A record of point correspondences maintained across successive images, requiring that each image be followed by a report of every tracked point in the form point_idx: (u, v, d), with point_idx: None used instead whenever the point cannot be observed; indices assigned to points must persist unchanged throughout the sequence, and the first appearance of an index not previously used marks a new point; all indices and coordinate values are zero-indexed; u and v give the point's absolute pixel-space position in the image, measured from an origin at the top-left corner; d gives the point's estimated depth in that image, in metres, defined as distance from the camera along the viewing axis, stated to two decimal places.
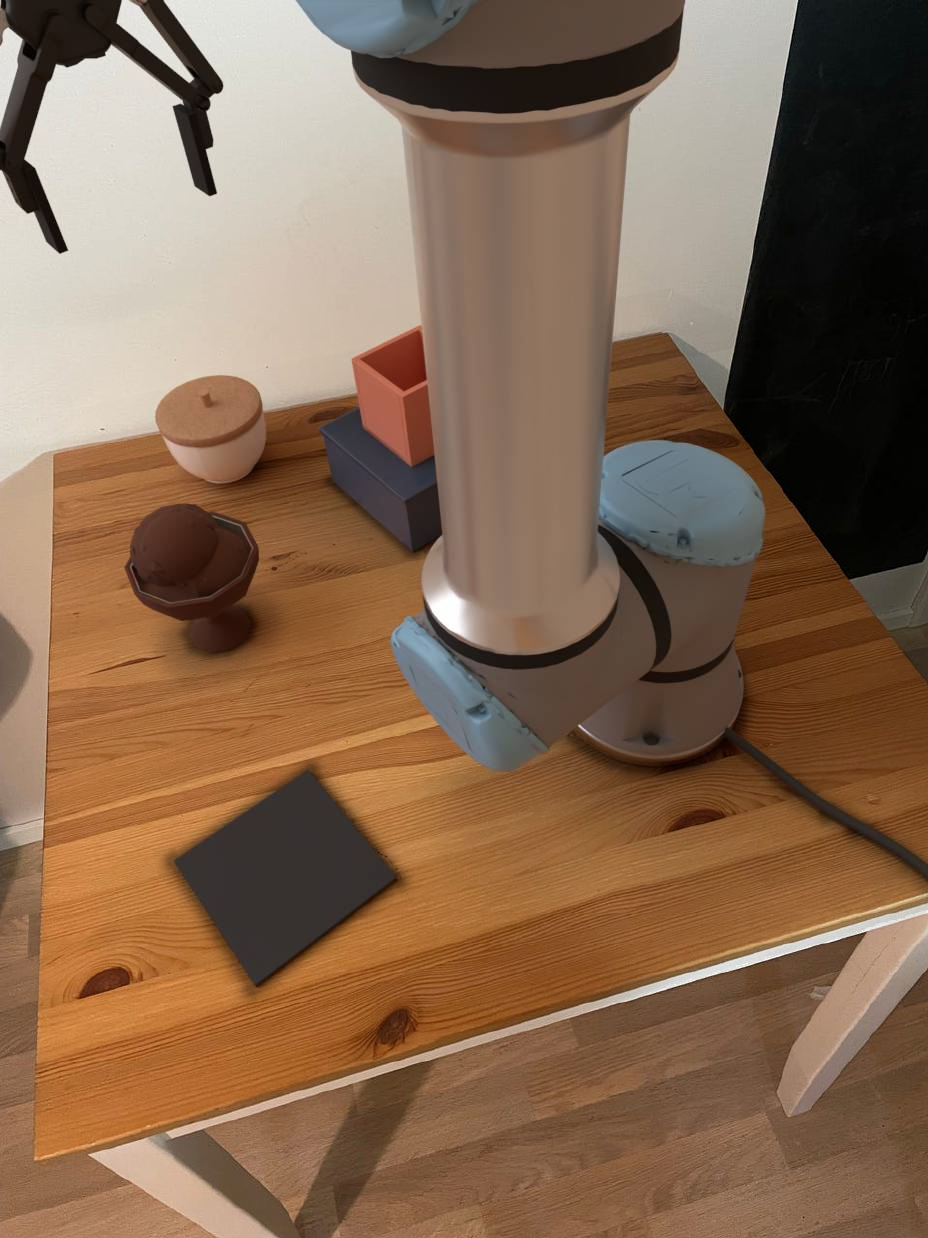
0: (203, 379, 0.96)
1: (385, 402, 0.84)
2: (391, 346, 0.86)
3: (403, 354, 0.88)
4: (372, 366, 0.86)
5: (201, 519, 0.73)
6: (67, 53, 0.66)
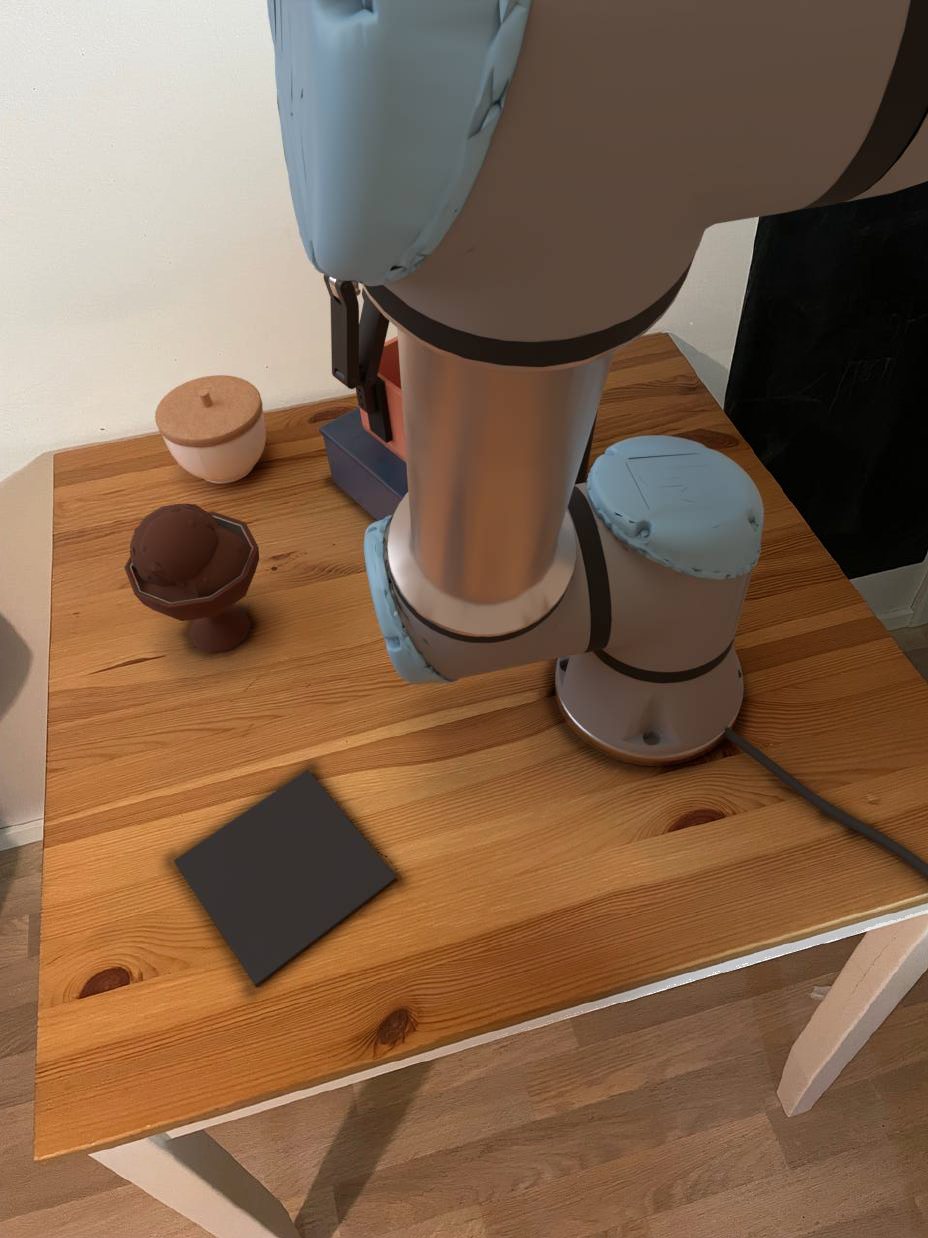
0: (203, 379, 0.96)
1: None
2: (391, 346, 0.86)
3: None
4: None
5: (201, 519, 0.73)
6: None
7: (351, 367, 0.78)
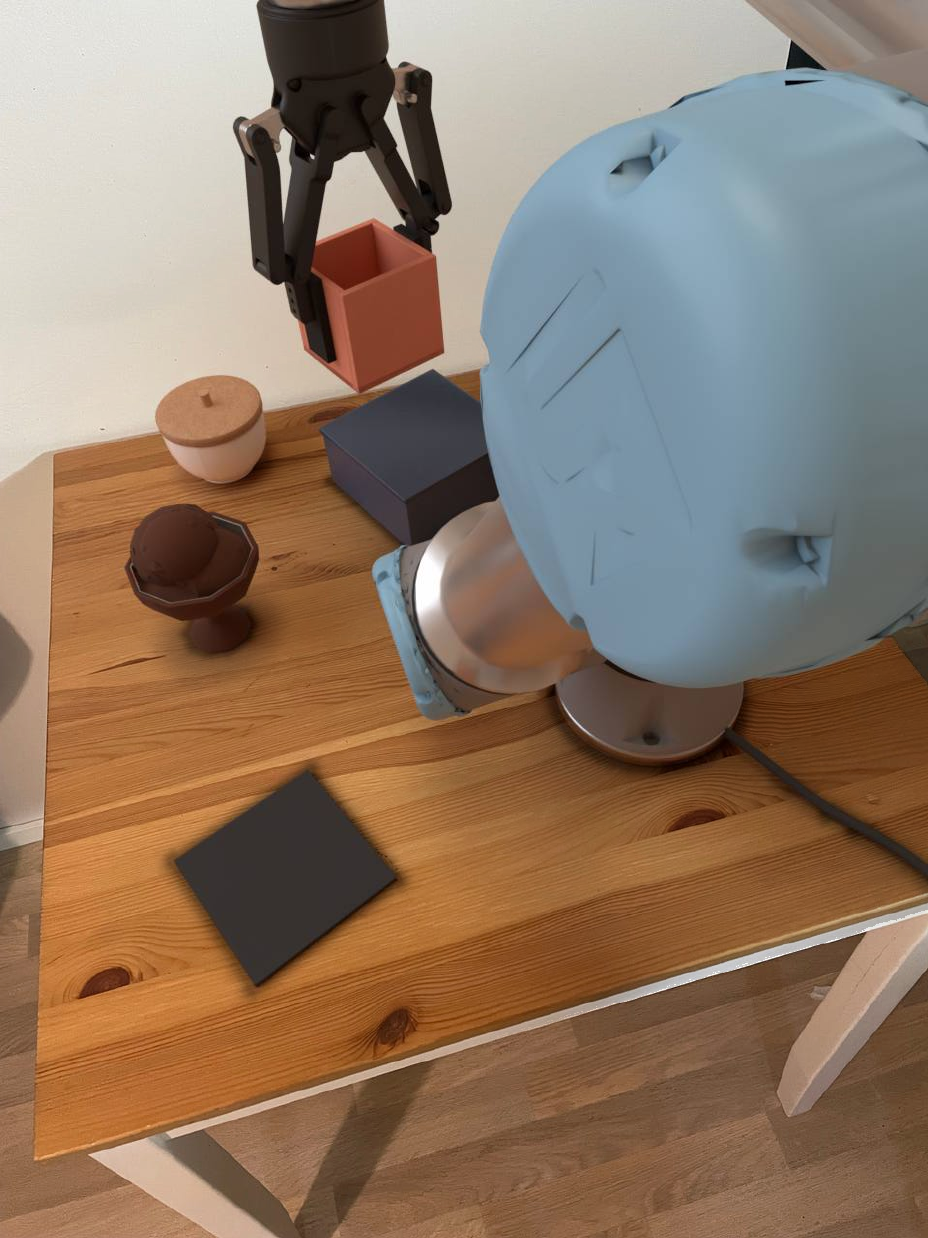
0: (203, 379, 0.96)
1: None
2: (336, 241, 0.69)
3: (352, 254, 0.70)
4: None
5: (201, 519, 0.73)
6: None
7: (274, 254, 0.61)
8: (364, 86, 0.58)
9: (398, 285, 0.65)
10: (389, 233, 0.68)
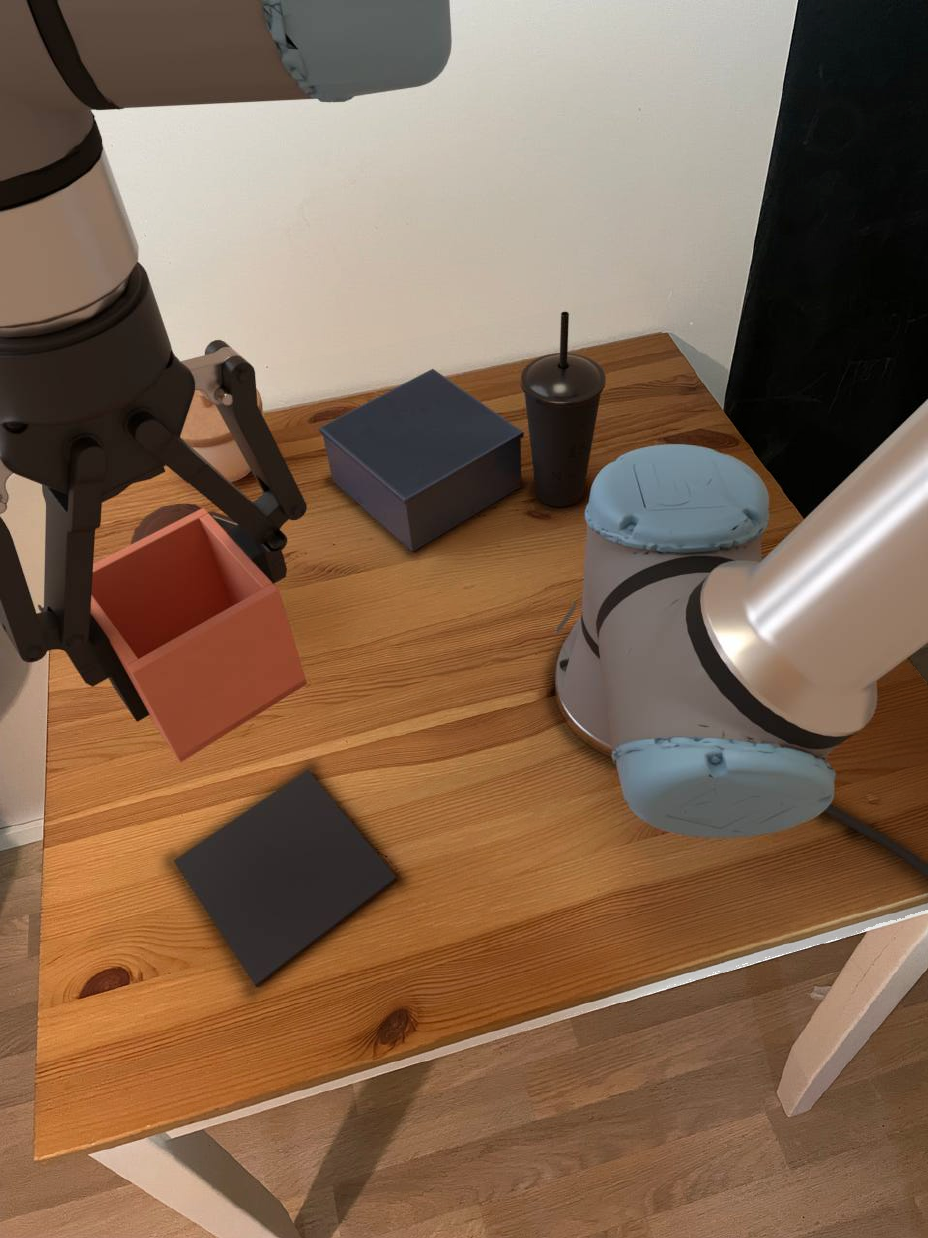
0: None
1: None
2: (145, 550, 0.49)
3: (174, 558, 0.50)
4: (111, 586, 0.49)
5: None
6: (103, 485, 0.39)
7: (22, 630, 0.41)
8: (141, 402, 0.38)
9: (223, 636, 0.45)
10: (219, 540, 0.48)
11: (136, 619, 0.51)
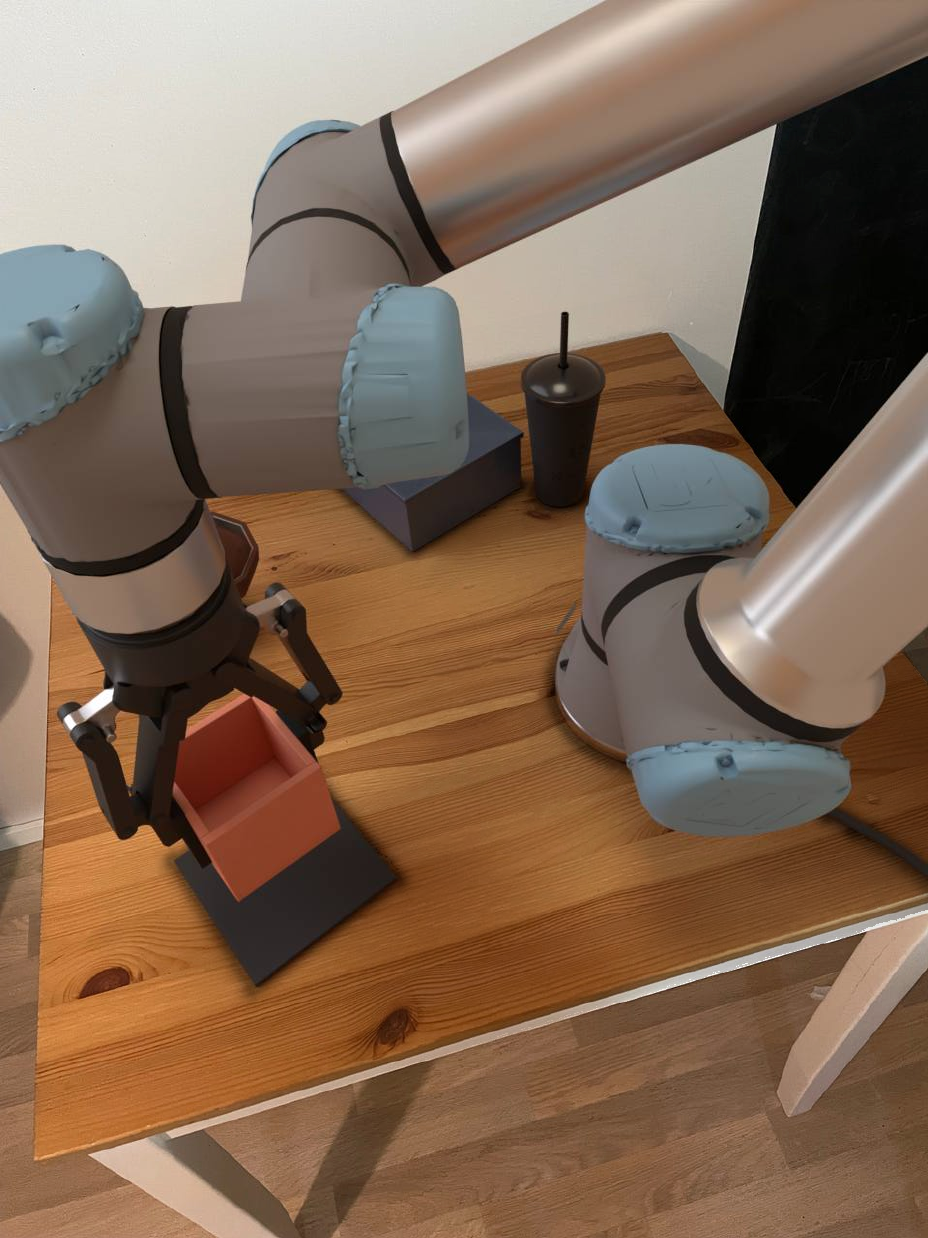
0: None
1: None
2: (208, 727, 0.59)
3: (230, 729, 0.60)
4: (180, 757, 0.59)
5: None
6: None
7: (120, 818, 0.51)
8: None
9: (277, 807, 0.56)
10: (269, 719, 0.59)
11: (198, 778, 0.61)
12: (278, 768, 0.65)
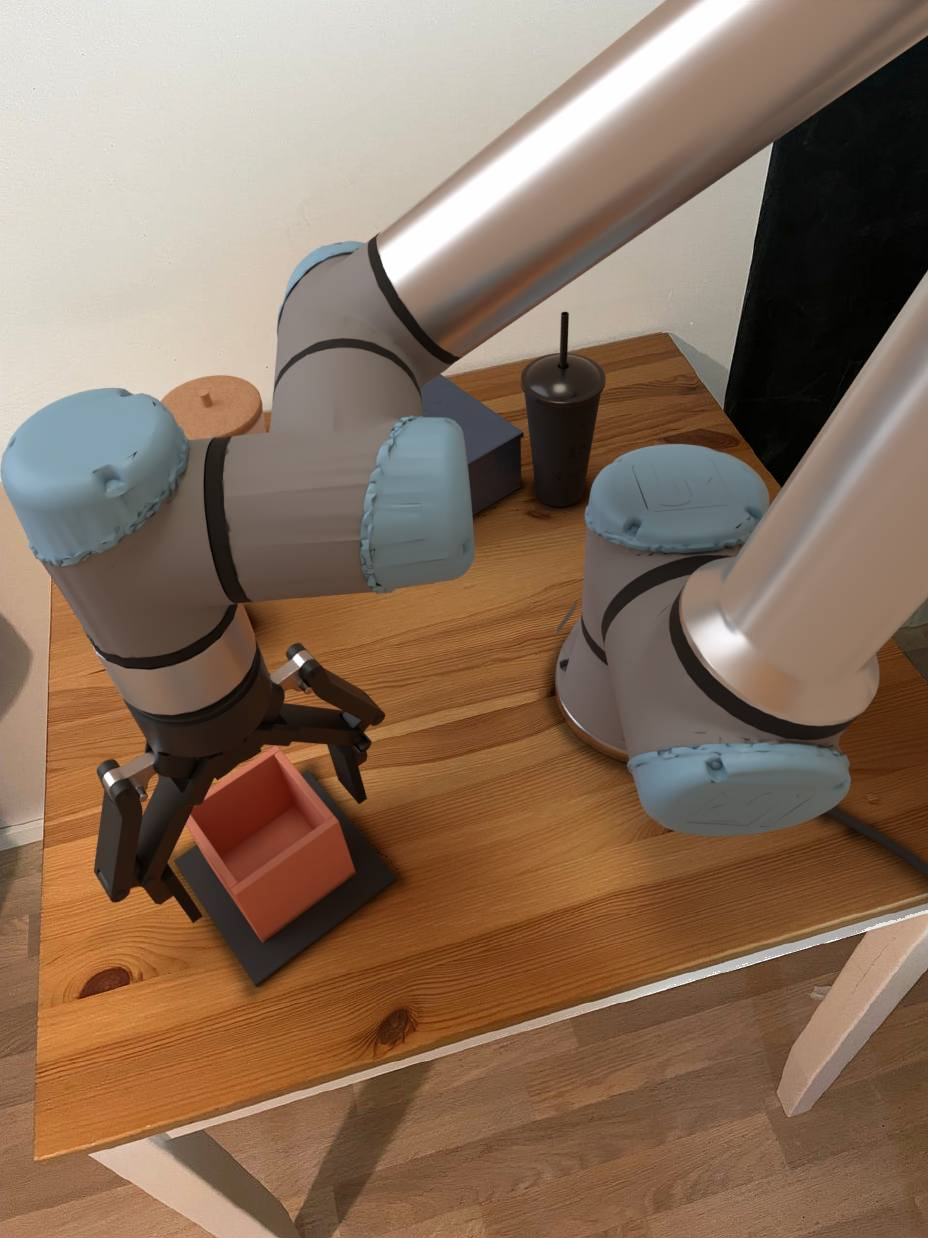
0: (203, 379, 0.96)
1: (220, 876, 0.62)
2: (234, 783, 0.64)
3: (254, 784, 0.66)
4: (209, 810, 0.64)
5: None
6: None
7: (120, 880, 0.54)
8: None
9: (298, 858, 0.61)
10: (291, 775, 0.64)
11: (224, 828, 0.67)
12: (297, 816, 0.70)
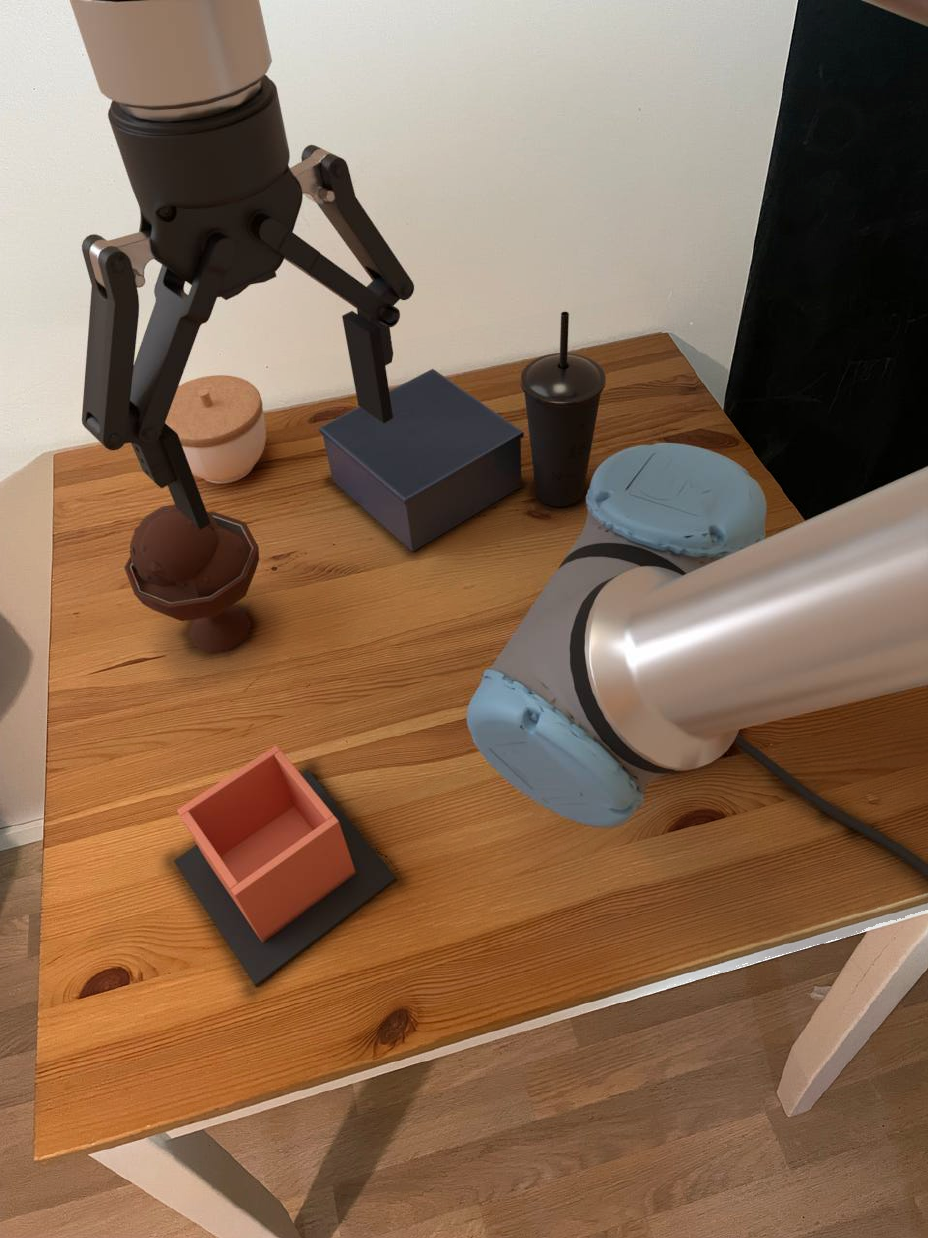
0: (203, 379, 0.96)
1: (220, 876, 0.62)
2: (234, 783, 0.64)
3: (254, 784, 0.66)
4: (209, 810, 0.64)
5: None
6: (228, 282, 0.46)
7: (114, 412, 0.46)
8: (262, 204, 0.45)
9: (298, 858, 0.61)
10: (291, 775, 0.64)
11: (224, 828, 0.67)
12: (297, 816, 0.70)
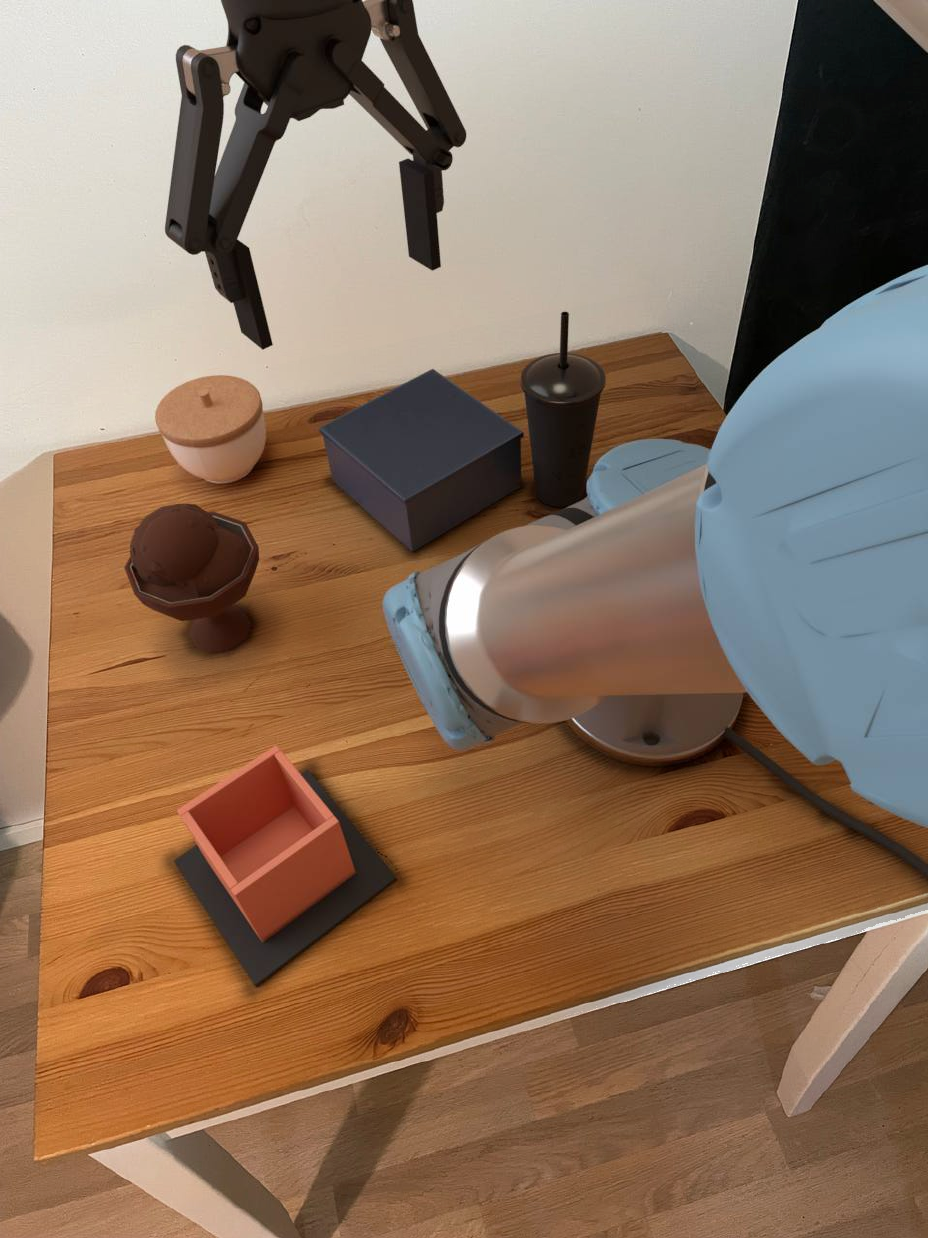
0: (203, 379, 0.96)
1: (220, 876, 0.62)
2: (234, 783, 0.64)
3: (254, 784, 0.66)
4: (209, 810, 0.64)
5: (201, 519, 0.73)
6: (302, 103, 0.51)
7: (195, 216, 0.51)
8: (335, 30, 0.50)
9: (298, 858, 0.61)
10: (291, 775, 0.64)
11: (224, 828, 0.67)
12: (297, 816, 0.70)
